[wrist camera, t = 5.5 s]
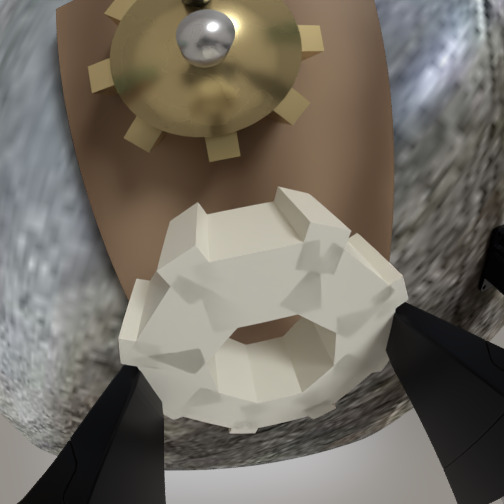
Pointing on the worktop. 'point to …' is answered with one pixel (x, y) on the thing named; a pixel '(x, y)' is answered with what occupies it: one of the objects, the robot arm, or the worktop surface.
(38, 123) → the worktop surface
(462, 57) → the worktop surface
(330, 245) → the loose gear
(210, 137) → the gear
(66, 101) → the gear board
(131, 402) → the robot arm
